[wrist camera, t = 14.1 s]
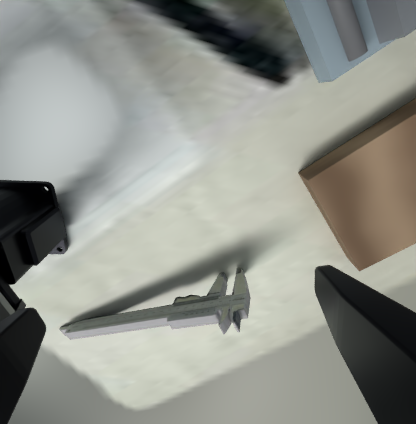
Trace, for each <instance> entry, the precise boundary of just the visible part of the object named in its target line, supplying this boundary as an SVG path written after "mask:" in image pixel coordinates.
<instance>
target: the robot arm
mask: <svg viewBox="0 0 416 424" xmlns="http://www.w3.org/2000/svg"><path fill="white" fill-rule="evenodd" d="M44 186H45V187H47V188H48V191H47V190H46V189H45V188H44ZM60 247H61V248H62V249H61V248H60ZM67 250H68V245H67V241H66V231H65V227H64V222H63V218H62V213H61V210H60V208H59V206H58V202H57V198H56V193H55V189H54V186H53V185H52V184H51V183H49V182H41V181H11V180H0V424H8V422H9V420H10V418H11V415H12V413H13V411H14V409H15V407H16V405H17V403H18V400H19V398H20V396H21V394H22V392H23V390H24V387H25V385H26V383H27V380H28V378H29V375H30V372H31V370H32V367H33V365H34V362H35V359H36V357H37V354H38V351H39V349H40V346H41V343H42V341H43V338H44V335H45V332H46V325H45V323H44V322H43V320H42V318H41V317H40V315H39V314H38V312H37V310H36V309H34V308H25V307H26V304H25V303H24V302H23V300H22V299H19V298H18V296H17V295H16V294H15V292H14V291H13V290H12V288H11V287H10V286H9V285H12V284H15V283H16V282H17V281H18V280H19V279H20V278H21V277H22V276H23V275H24V274H25V273H26V272H27V271H28V270H29V269H30V268H31V267H32V266H33V265H35V266H37V265H38V264H39V263H40V262H41V261H42V260H43V259H44V258H45V257H46V256H47V255H48V254H64V253H65V252H66V251H67ZM315 293H316V296H317V298H318V301H319V303H320V306H321V308H322V311H323V313H324V316H325V318H326V321H327V323H328V326H329V328H330V331H331V333H332V336H333V338H334V340H335V343H336V345H337V347H338V349H339V351H340V353H341V355H342V357H343V358H344V360H345V362H346V364H347V366H348V368H349V370H350V372H351V374H352V375H353V377H354V379H355V381H356V383H357V385H358V387H359V389H360V391H361V392H362V394H363V396H364V398H365V400H366V402H367V404H368V406H369V408H370V409H371V411H372V413H373V415H374V417H375V419H376V421H377V422H378V424H416V313H415V312H413V311H412V310H410V309H408V308H406V307H404V306H403V305H401V304H399V303H397V302H395V301H394V300H392V299H390V298H388V297H386V296H385V295H383V294H381V293H379V292H378V291H376V290H374V289H372V288H370V287H369V286H367V285H365V284H363V283H361V282H360V281H358V280H356V279H354V278H352V277H351V276H349V275H347V274H345V273H343V272H342V271H340V270H338V269H336V268H334V267H333V266H330V265H325V266H318V267H316V269H315Z"/></svg>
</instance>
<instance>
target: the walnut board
mask: <svg viewBox="0 0 416 424" xmlns="http://www.w3.org/2000/svg"><path fill="white" fill-rule="evenodd" d="M299 175H300V177H301V178H302V180H303V182H304V184H305V185H306V187H307V189H308V191H309V192H310V194H311V196H312V197H313V199H314V201H315V203H316V204H317V206H318V208H319V210H320V211H321V213H322V215H323V217H324V218H325V220H326V222H327V223H328V225H329V227H330V229H331V230H332V232H333V234H334V236H335V237H336V239H337V241H338V242H339V244H340V246H341V248H342V249H343V251H344V253H345V255H346V256H347V258H348V259H349V260H350V261H351V262H352V264H353V265H354V266H355V267H356V268H357V269H358V270H359V271H361V270H363V269H365V268H367V267H369V266H371V265H373V264H375V263H377V262H379V261H381V260H383V259H385V258H387V257H389V256H391V255H393V254H395V253H397V252H399V251H401V250H403V249H405V248H407V247H409V246H411V245H413V244H415V243H416V98H415V99H414V100H412V101H410V102H409V103H407V104H406V105H404V106H403V107H401V108H399V109H398V110H396V111H395V112H393V113H392V114H390V115H388V116H387V117H385V118H384V119H382V120H381V121H379V122H377V123H376V124H374V125H373V126H371V127H369V128H368V129H366V130H365V131H363V132H362V133H360V134H358V135H357V136H355V137H354V138H352V139H351V140H349V141H347V142H346V143H344V144H343V145H341V146H340V147H338V148H336V149H335V150H333V151H332V152H330V153H329V154H327V155H325V156H324V157H322V158H321V159H319V160H318V161H316V162H314V163H313V164H311V165H310V166H308V167H306V168H305V169H303V170H302V171H300V172H299Z"/></svg>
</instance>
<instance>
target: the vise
mask: <svg viewBox="0 0 416 424" xmlns="http://www.w3.org/2000/svg"><path fill="white" fill-rule="evenodd" d="M284 1H285V4H286V6H287V8H288V11H289V13H290V16H291V18H292V20H293V23H294V25H295V27H296V30H297V32H298V35H299V37H300V39H301V42H302V44H303V46H304V49H305V51H306V54H307V56H308V58H309V61H310V63H311V65H312V68H313V70H314V73H315V75H316V77H317V80H318V82H319V83H320V82H329V81H333V80H335V79H336V78H338V77H339V76H341V75H343V74H344V73H346V72H347V71H349V70H350V69H352V68H353V67H355V66H356V65H358V64H359V63H361V62H362V61H364V60H365V59H367V58H368V57H370V56H371V55H373V54H374V53H376V52H377V51H379V50H380V49H382V48H383V47H385V46H386V45H388V44H389V43H391V42H392V41H394V40H395V39H398V38H401V37H405V36H406V35H408V34H409V33H411V32H412V31H414V30H415V29H416V0H284Z"/></svg>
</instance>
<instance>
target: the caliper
mask: <svg viewBox="0 0 416 424" xmlns="http://www.w3.org/2000/svg"><path fill="white" fill-rule="evenodd" d="M227 281H228V280H227V278H226V276H225V273H222V274H219V275H218V277H217V279H216V280H215V282H214V284H213V286H212V287H211V289H210V291H209V293H208V294H207V296H202V297H200V296H197V295H189V296H186V297H177V298H175V300H174V303H173V304H172V305H166V306H161V307H155V308H149V309H144V310H138V311H132V312H126V313H121V314H115V315H109V316H102V317H96V318H90V319H84V320H81V321H78V322H75V323H72V324H71V325H70V326H64V327H61V328H60V331H61V332H62V333H63V334H64V335H65V336H67V337H68V338H69V339H70V340H71V339H78V338H85V337H92V336H99V335H106V334H113V333H120V332H127V331H134V330H141V329H148V328H155V327H162V326H169V325H170V327H171V328H172V329H177V328H185V327H193V326H201V325H209V324H217V323H219V327H220V329H221V331H222V332H223V334H225V333H226V331H227V330H228V328H229V327H230V325H231V322H232V323H233V325H234V327H235V329H236V330H237V332H239V331H240V322H241V319H246V318H248V313H249V305H250V294H249V289H248V285H247V281H246V277H245V275H244V272H243V270H242V269H240V268H237V271H236V277H235V283H234V288H233V293H232V295H226V290H227ZM225 295H226V296H225Z"/></svg>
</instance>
